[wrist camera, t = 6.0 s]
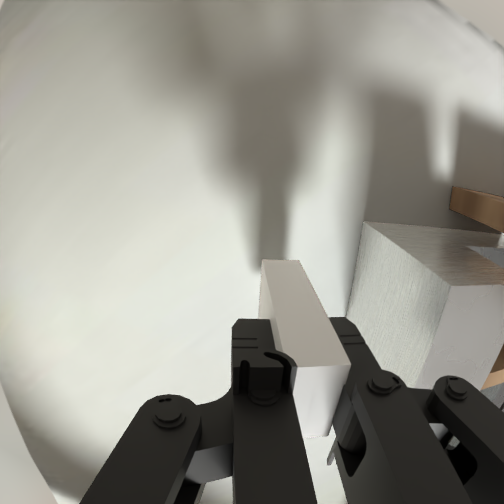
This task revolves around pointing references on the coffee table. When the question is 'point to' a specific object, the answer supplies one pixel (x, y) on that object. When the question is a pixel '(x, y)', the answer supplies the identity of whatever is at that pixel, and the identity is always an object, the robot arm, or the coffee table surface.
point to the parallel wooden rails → (493, 215)
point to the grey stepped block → (430, 301)
